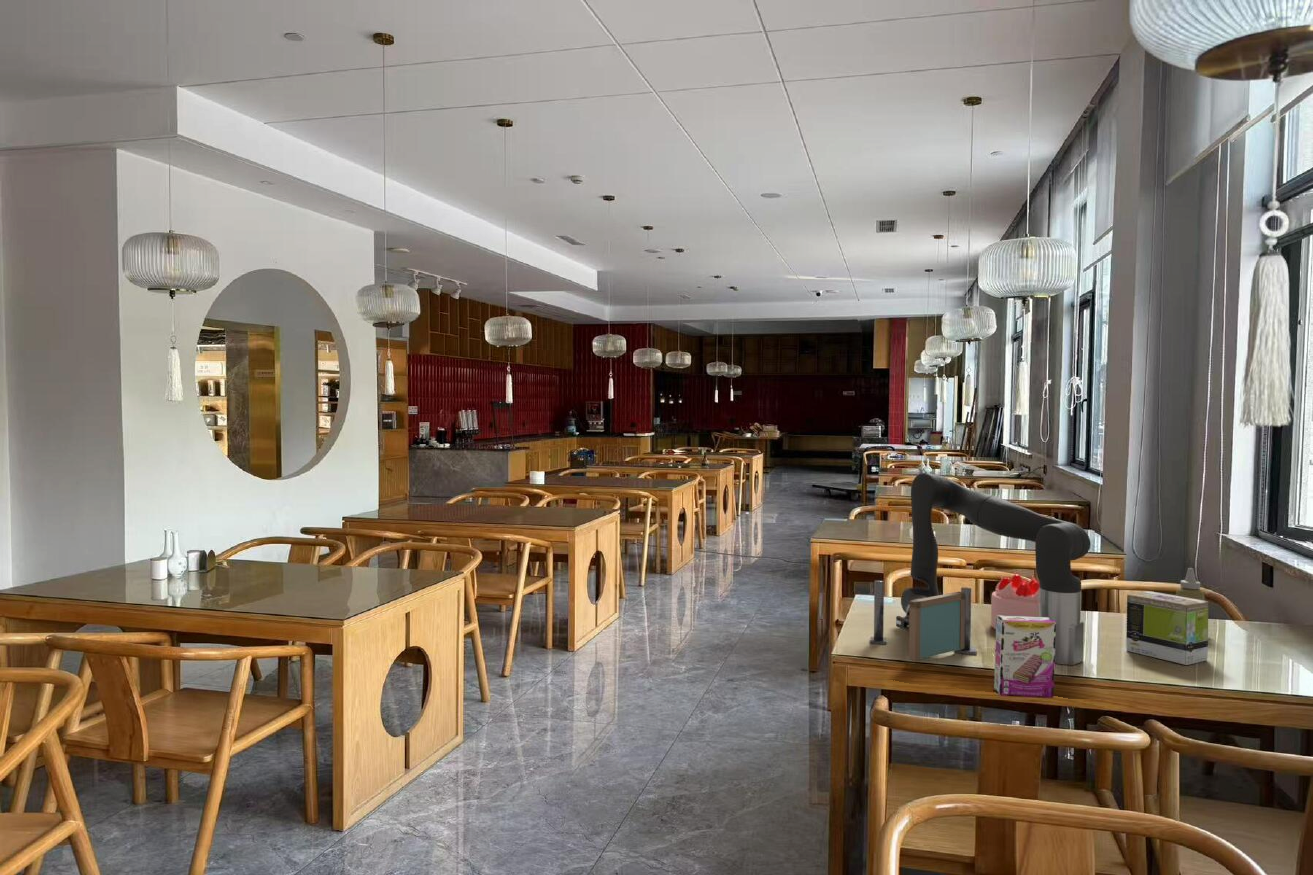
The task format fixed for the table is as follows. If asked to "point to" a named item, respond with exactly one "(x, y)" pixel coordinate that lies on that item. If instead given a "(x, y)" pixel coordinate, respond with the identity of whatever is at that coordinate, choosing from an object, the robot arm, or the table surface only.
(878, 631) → the gate posts
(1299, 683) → the table surface
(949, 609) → the gate leaf
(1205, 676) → the table surface
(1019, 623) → the candy bar box
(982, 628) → the table surface
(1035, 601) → the cake
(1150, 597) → the tea box
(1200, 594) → the squeeze bottle
